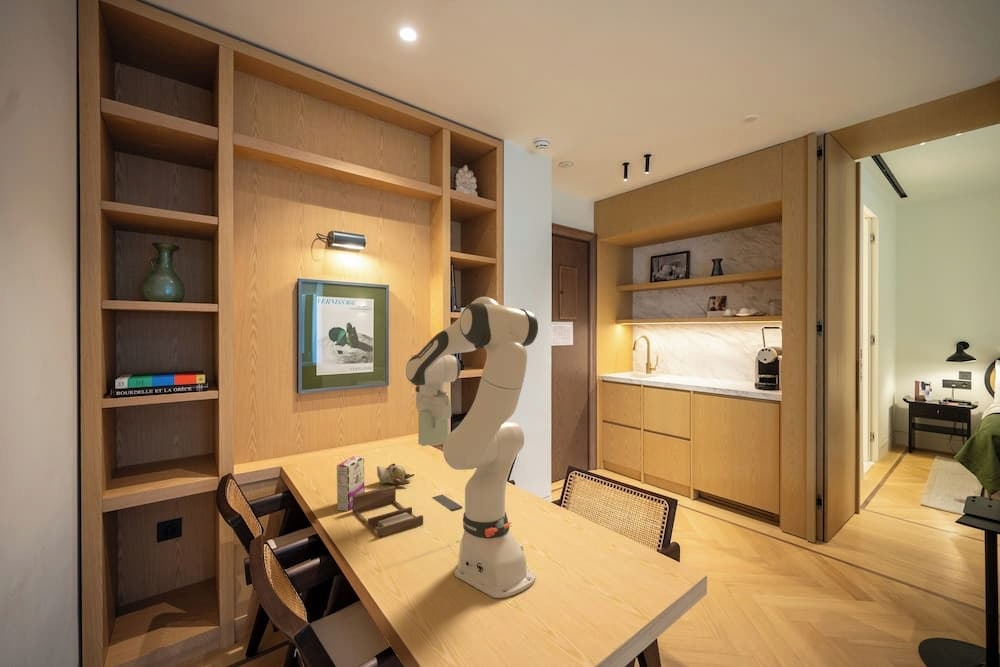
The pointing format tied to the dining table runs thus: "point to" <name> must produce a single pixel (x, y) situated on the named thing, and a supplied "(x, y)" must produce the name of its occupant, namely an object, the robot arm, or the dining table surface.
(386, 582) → the dining table surface
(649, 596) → the dining table surface
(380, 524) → the upper offcut
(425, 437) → the beige rectangular block
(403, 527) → the frame
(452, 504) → the rubber mat
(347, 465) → the candy bar box
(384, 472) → the ceramic sculpture
